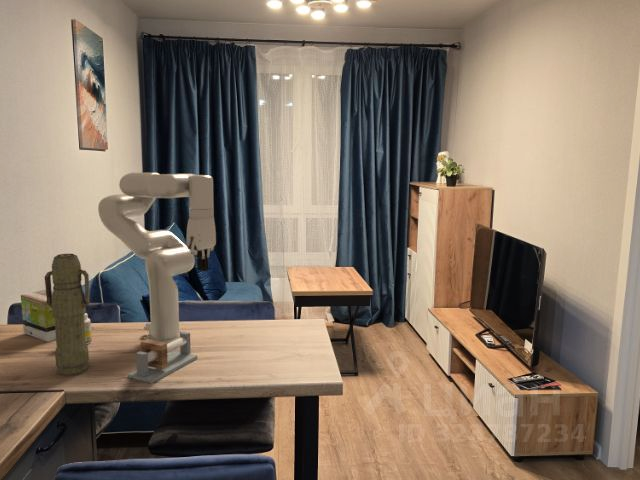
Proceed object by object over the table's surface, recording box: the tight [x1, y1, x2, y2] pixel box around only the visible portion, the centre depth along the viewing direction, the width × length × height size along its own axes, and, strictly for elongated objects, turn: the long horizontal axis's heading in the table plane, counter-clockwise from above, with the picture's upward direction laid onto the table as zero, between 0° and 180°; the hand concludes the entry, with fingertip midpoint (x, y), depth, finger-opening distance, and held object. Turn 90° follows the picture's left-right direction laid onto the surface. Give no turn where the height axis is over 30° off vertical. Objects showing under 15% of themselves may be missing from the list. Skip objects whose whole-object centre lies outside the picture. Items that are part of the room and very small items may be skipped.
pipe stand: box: [127, 331, 198, 384], centre depth 159 cm, size 9×21×8 cm, turn 156°
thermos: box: [44, 253, 91, 377], centre depth 154 cm, size 9×12×35 cm
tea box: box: [20, 289, 56, 343], centre depth 186 cm, size 15×10×15 cm, turn 58°
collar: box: [140, 338, 168, 369], centre depth 155 cm, size 8×2×7 cm, turn 66°
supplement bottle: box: [84, 312, 92, 345], centre depth 179 cm, size 6×6×10 cm
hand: (202, 270), depth 170 cm, fingers closed
